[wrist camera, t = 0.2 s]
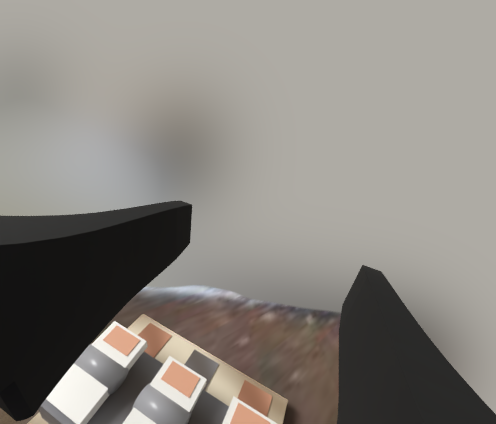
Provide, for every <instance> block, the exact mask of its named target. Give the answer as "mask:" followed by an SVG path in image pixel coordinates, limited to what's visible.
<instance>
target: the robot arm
mask: <svg viewBox="0 0 496 424" xmlns="http://www.w3.org/2000/svg"><path fill="white" fill-rule="evenodd" d="M191 214H192V205H191V204H188V203H185V202H182V201H171V202H164V203H157V204H151V205H145V206H139V207H133V208H127V209H120V210H113V211H106V212H98V213H88V214H75V215H59V216H0V408H2V409H3V410H4V411H5V412H6V413H7V414H9V415H10V416H11V417H12V418H13V419H14V420H16V421H21V420H24V419H27V418H29V417H31V416H33V415H34V414H35V413H36V411H37V410H38V409H39V407H40V406H41V405H42V403H43V402H44V401H45V399H46V398H47V397H48V396H49V394H50V393H51V392H52V390H53V389H54V388H55V386H56V385H57V384H58V383H59V381H60V380H61V379H62V377H63V376H64V375H65V374H66V372H67V371H68V370H69V369H70V367H71V366H72V365H73V364H74V363H75V361H76V360H77V359H78V358H79V357H80V355H81V354H82V353H83V352H84V351H85V349H86V348H87V347H88V346H89V345H90V343H91V342H92V341H93V340H94V339H95V338H96V337H97V335H98V334H99V333H100V332H101V331H102V330H103V329H104V328H105V326H106V325H107V324H108V323H109V322H110V321H111V320H112V319H113V318H114V317H115V315H116V314H117V313H118V312H119V311H120V310H121V309H122V308H123V307H124V306H125V305H126V304H127V303H128V302H129V301H130V300H131V299H132V298H133V297H134V296H135V295H136V294H137V293H138V292H139V291H141V290H142V289H143V288H144V287H145V286H146V285H147V284H149V283H150V282H151V281H152V280H153V279H154V278H155V277H157V276H158V275H159V274H160V273H161V272H162V271H163V270H164V269H166V268H167V266H169V265H170V264H171V263H172V262H173V261H174V260H175V259H177V257H178V256H179V255H180V254H181V253H182V252H183V250H184V249H185V248H186V247H187V246H188V245H189V243H190V231H191ZM337 424H496V414H495V413H494V412H493V411H492V410H491V409H490V408H489V407H488V406H487V405H486V404H485V403H484V401H482V399H481V398H480V397H479V396H478V395H477V394H476V393H475V392H474V390H473V389H472V388H471V387H470V386H469V385H468V384H467V383H466V381H465V380H464V379H463V378H462V377H461V376H460V375H459V374H458V372H457V371H456V370H455V369H454V368H453V367H452V365H451V364H450V363H449V362H448V361H447V360H446V358H445V357H444V356H443V355H442V353H441V352H440V351H439V350H438V348H437V347H436V346H435V345H434V343H433V342H432V341H431V340H430V338H429V337H428V336H427V335H426V333H425V332H424V331H423V329H422V328H421V327H420V325H419V324H418V323H417V321H416V320H415V319H414V317H413V316H412V315H411V313H410V312H409V311H408V309H407V308H406V306H405V305H404V303H403V302H402V301H401V299H400V298H399V296H398V295H397V293H396V292H395V290H394V289H393V288H392V286H391V285H390V283H389V282H388V281H387V279H386V278H385V276H384V275H383V274H382V272H381V271H378V270H375V269H372V268H370V267H367V266H364V265H362V267H361V269H360V271H359V273H358V275H357V277H356V279H355V281H354V283H353V285H352V287H351V289H350V291H349V293H348V295H347V297H346V299H345V301H344V303H343V306H342V313H341V320H340V328H339V403H338V419H337Z"/></svg>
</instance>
